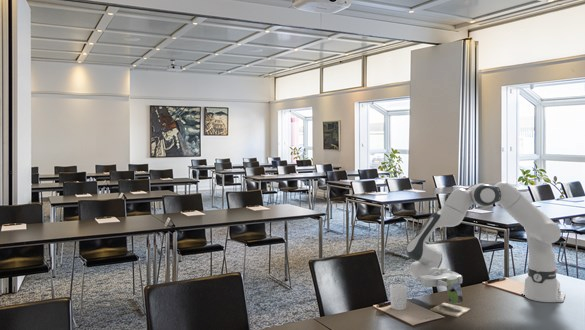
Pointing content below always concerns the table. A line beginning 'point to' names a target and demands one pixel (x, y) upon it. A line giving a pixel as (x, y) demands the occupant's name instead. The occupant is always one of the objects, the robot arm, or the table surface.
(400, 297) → the white cup
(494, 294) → the table surface
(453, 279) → the beverage can
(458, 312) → the birch mat
